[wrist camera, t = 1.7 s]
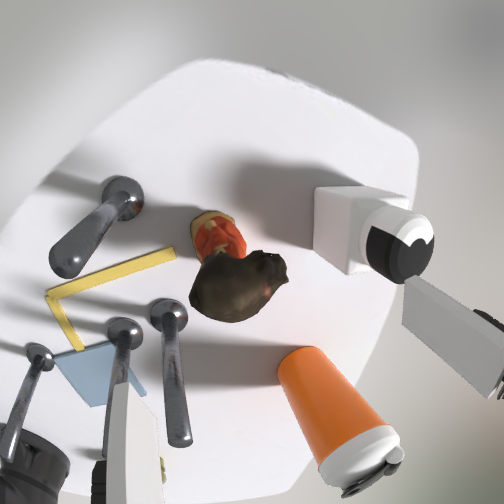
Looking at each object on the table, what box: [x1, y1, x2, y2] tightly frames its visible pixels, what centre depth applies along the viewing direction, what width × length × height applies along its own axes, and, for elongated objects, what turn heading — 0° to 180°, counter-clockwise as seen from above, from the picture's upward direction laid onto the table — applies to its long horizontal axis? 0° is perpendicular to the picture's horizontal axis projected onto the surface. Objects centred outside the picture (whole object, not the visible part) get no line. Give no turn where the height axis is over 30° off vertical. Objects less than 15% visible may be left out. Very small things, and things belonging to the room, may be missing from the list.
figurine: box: [189, 212, 289, 323], centre depth 22 cm, size 6×6×12 cm
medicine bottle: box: [313, 186, 434, 284], centre depth 26 cm, size 7×7×12 cm
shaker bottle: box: [277, 347, 405, 498], centre depth 28 cm, size 9×9×20 cm
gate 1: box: [49, 177, 193, 448], centre depth 20 cm, size 4×17×16 cm, turn 14°
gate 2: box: [0, 318, 143, 463], centre depth 20 cm, size 17×4×16 cm, turn 104°
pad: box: [53, 342, 146, 407], centre depth 29 cm, size 9×9×1 cm
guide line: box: [45, 246, 177, 352], centre depth 27 cm, size 16×8×1 cm, turn 104°
